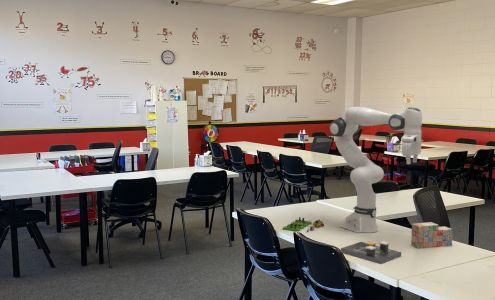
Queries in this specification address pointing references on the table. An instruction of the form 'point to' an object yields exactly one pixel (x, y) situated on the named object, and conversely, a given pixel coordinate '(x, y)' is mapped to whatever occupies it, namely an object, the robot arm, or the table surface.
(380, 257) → the panel
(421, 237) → the stack of blocks
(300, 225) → the toy garden set
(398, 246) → the table surface
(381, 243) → the breaker far
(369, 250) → the breaker near
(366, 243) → the breaker
